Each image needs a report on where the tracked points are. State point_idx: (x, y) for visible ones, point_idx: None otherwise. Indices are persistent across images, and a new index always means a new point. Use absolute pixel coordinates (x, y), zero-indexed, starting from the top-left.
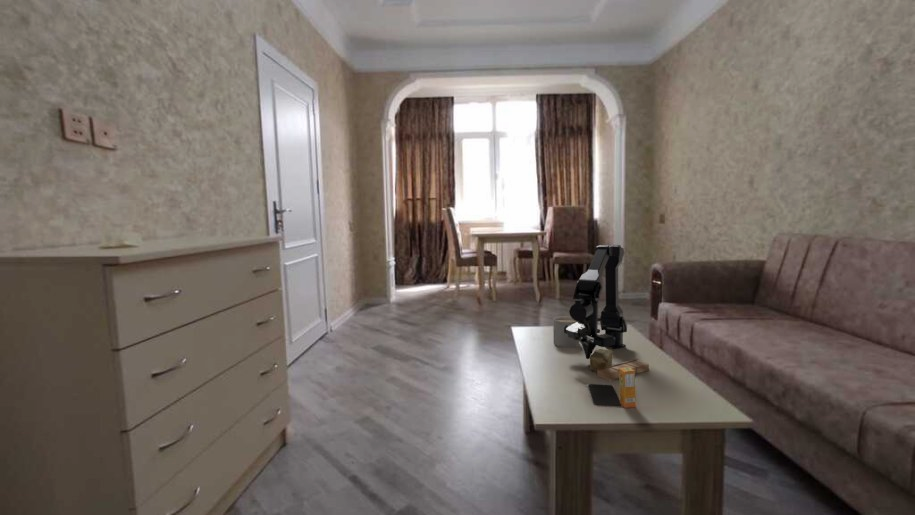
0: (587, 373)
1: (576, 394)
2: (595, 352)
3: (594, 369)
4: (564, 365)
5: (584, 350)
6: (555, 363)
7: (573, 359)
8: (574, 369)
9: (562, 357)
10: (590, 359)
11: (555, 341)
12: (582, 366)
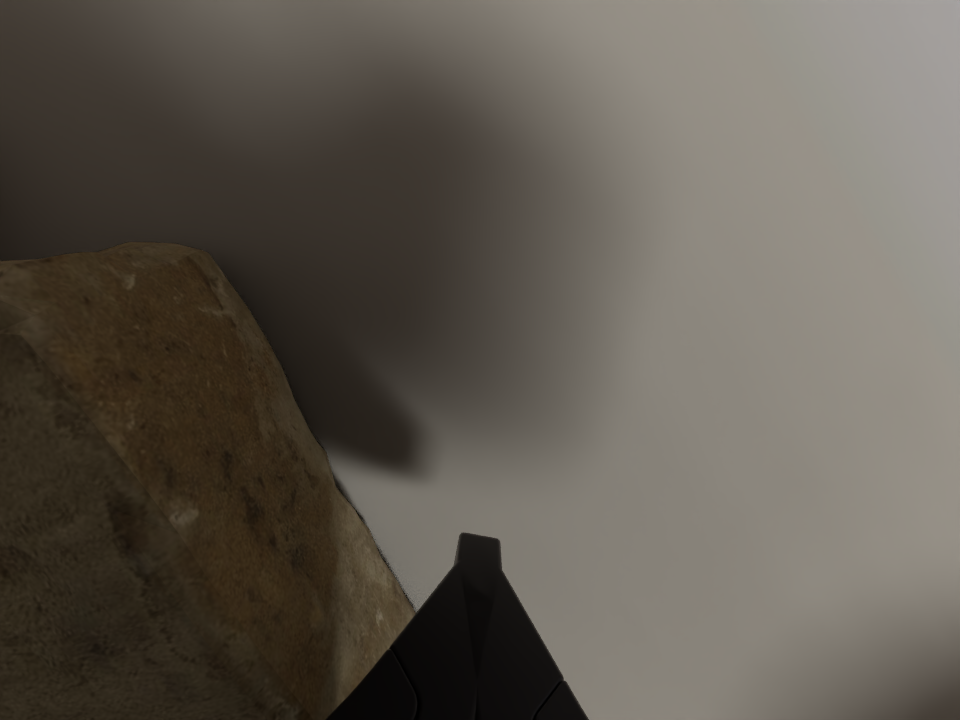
0: (142, 84)
1: None
2: (199, 705)
3: (98, 252)
4: (705, 133)
5: (526, 652)
6: (904, 95)
7: (753, 506)
8: (438, 85)
9: (950, 462)
10: (29, 263)
11: None
12: (446, 334)
